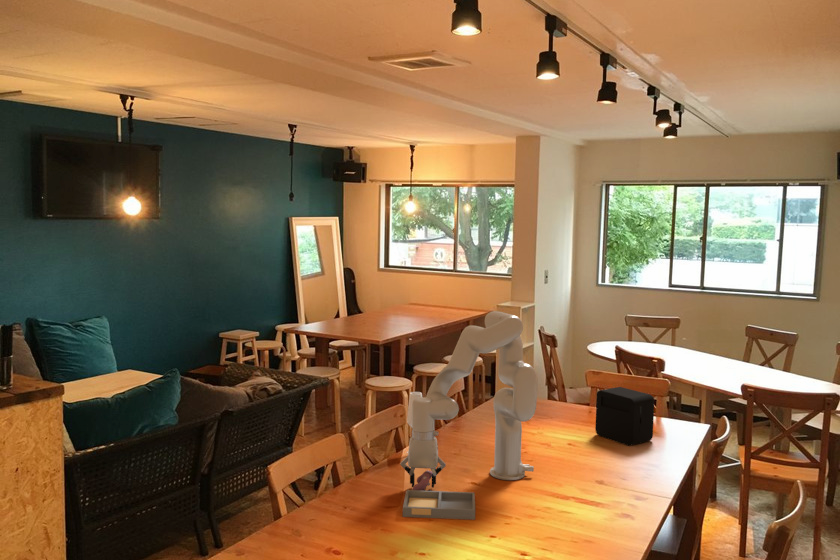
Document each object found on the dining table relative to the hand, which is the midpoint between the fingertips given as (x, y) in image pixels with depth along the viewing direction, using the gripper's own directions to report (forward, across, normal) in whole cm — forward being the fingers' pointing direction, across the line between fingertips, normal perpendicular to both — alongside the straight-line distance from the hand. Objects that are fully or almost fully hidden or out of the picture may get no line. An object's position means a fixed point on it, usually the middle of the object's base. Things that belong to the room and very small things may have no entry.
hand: (422, 485), depth 241 cm
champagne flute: (+2, +5, -37) cm, 37 cm away
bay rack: (+1, -6, +16) cm, 17 cm away
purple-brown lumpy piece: (+1, 0, 0) cm, 1 cm away
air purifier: (+3, -83, -66) cm, 106 cm away
